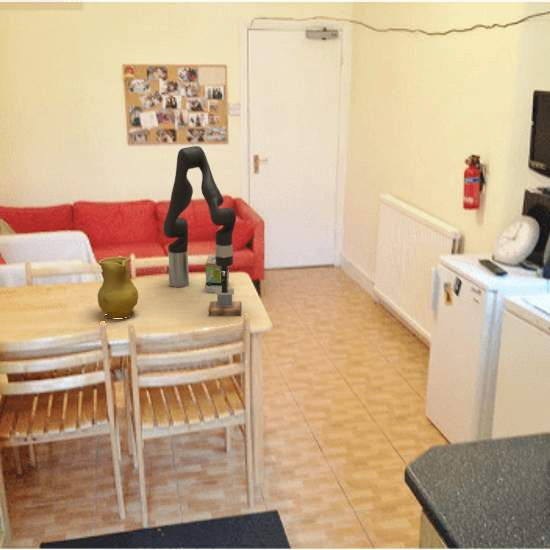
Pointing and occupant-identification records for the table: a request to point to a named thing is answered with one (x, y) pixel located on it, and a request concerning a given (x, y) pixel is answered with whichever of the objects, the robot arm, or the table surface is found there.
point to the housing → (224, 298)
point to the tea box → (213, 275)
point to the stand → (225, 310)
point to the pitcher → (117, 288)
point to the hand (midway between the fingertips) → (224, 289)
